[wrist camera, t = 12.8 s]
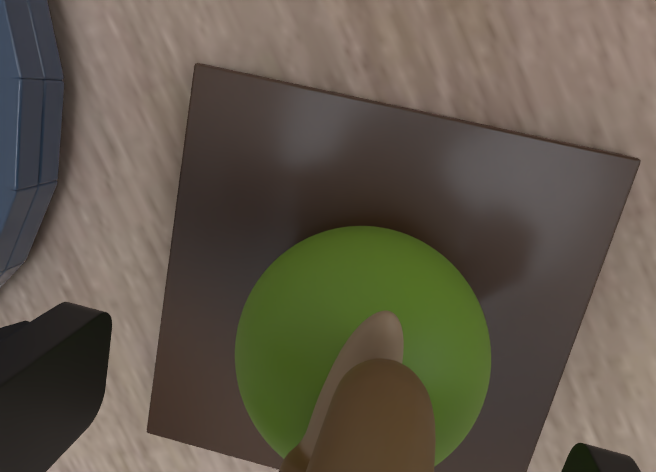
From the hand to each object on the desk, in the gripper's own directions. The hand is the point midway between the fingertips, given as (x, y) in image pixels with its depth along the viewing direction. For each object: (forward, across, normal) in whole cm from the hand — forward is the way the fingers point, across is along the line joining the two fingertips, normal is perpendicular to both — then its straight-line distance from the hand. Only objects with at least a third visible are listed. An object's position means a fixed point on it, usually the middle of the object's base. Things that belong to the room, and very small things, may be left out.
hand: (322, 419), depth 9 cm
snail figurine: (+6, 0, 0) cm, 6 cm away
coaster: (+6, 0, 0) cm, 6 cm away
